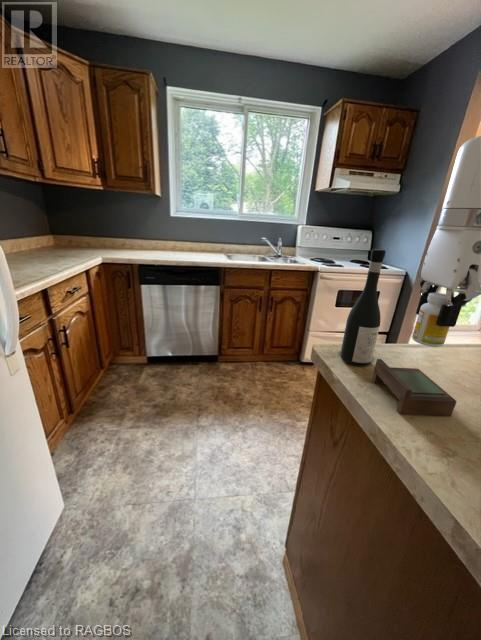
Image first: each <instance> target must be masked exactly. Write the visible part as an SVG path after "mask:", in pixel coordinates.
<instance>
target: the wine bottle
mask: <svg viewBox="0 0 481 640" xmlns="http://www.w3.org/2000/svg"><path fill="white" fill-rule="evenodd" d="M386 252H387V251H386V250H385V249H378V248H374V249H372V250H371V252H370V253H371V254H370V261H369V266H368V271H367V276H366V280H365V285H364V287H363V290H362V292H361V293H360V295H359V297H358V299H357V300H356V301H355V303H354V304H353V306H352V307H351V309H350V311H349V313H348V316H347V319H346V323H345V328H344V334H343V339H342V344H341V349H340V358H341V359H342V361H343V362H345V363H347V364H348V365H351V366H355V367H366V366H368V365H370V364H371V363H372V360H373V356H374V352H375V348H376V344H377V340H378V337H379V336H378V335H379V331H380V327H381V319H382V318H381V310H380V305H379V304H380V303H379V299H378V284H379V280H380V276H381V270H382V266H383V263H384V258H386V257H385V256H386Z"/></svg>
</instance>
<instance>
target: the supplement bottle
mask: <svg viewBox="0 0 481 640" xmlns="http://www.w3.org/2000/svg"><path fill="white" fill-rule="evenodd" d="M427 299H428V300H427V301H428V303H425V304H423V305H422V306H421V308H420V311H419V315H418V314H417V318H416V321H415V325H414V329H413V332H412V336H411V338H412V340H413V341H414V342H416V343H418V344H420V345H423V346H426V347H431V348H441V347H443V346H444V344H445V342H446V339H447V337H448V334H449V331H450V327H446V326H438V325H436V322H437V319H438V316H439V312H440V309H441V306H442V304H443V305H446V293H442V292H441V293H440V292H438V293H429V295H428V298H427Z"/></svg>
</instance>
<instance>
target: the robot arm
mask: <svg viewBox="0 0 481 640" xmlns="http://www.w3.org/2000/svg"><path fill="white" fill-rule="evenodd" d="M453 164H454V165H453V167H452V171H451V176H450V179H449V181H448V185H447V190H446V192H445V196H444V200H443V203H442V208H441V211H440V214H439V218H438V222H437V225H436V227H435V229H436V230H435V232H434V234H433V237H432V238H431V241H430V243H429V245H428V249H427V252H426V255H425V257H424V261H423V263H422V267H421V270H420V271H419V273H418V275H417V277H418V280H419V286H420V290H419V295H420V297H419V301H418V305H417V308H416V312H415V314H416V315H417V316H418V315H419V311H420V308H421V306H422V305H423V304H425V303H428V301H427V300H428V299H427V298H428V295H429V293H439V292H440V290H441V288H445V294H446V305H443V304H442V306H441V309H440V312H439V316H438V319H437V322H436V325H438V326H446V327H449V328H454V327H455V326H456V325H457V322H458V319H459V315H460V313H461V310H462V308H464V307H466V305H467V304H468V303H470V302H471V301H472V300H473V299H475V298H477V297H479V296H481V135H480V136H475V137H472V138H470V139H468V140H465V142H463V144H462V145H461V146H460V147H459V148H458V151H457V154H456V157H455V161H454V163H453ZM455 293H458V294H456V295H455Z"/></svg>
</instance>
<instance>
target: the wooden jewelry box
mask: <svg viewBox="0 0 481 640" xmlns="http://www.w3.org/2000/svg"><path fill="white" fill-rule="evenodd" d="M370 383H371V384H382V385H385V386H386V387H387V388H388V389H389V390H390V391H391V393H392V394H394V396H395V397H396V398H397V399H398V400H399V401H398V403H397V408H396V412H397V413H398V415H400V416H418V417H419V416H420V417H421V416H422V417H443V418H445V417H446V418H451V417H452V415H453V413H454V410H455V408H456V404H457V401H458V400H456V399H455V398H454V397H453V396H451V395H450V394H449V393H448V392H447V391H445V390H444V389H443V388H442V387H441V386H439V385H438V384H437V383H436V382H435V381H434V380H433V379H432V378H430V377H429V376H428V375H427V374H425V372H424V371H422V370H421V369H419V368H415V367H413V368H412V367H392V366H389V365H388V364H387V363H386V362H385V361H384V360H383V359H382V358H376V362H375V366H374V369H373V374H372V378H371V382H370Z"/></svg>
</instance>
